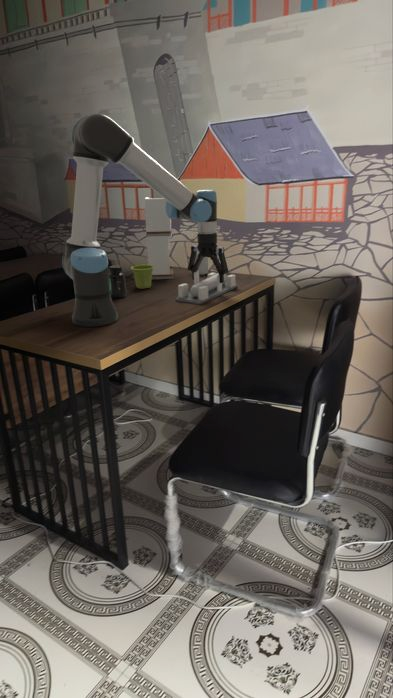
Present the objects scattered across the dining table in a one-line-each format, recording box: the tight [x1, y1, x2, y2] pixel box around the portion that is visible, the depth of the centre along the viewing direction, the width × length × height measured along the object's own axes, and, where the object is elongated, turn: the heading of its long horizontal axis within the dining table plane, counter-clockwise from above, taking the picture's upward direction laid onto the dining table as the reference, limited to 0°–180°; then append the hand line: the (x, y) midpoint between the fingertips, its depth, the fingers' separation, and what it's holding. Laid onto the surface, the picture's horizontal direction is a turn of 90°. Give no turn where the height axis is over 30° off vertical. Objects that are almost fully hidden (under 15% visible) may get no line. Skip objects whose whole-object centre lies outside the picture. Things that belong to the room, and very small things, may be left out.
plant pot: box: [130, 264, 154, 290], centre depth 209 cm, size 9×9×9 cm
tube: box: [189, 272, 228, 298], centre depth 197 cm, size 5×5×25 cm
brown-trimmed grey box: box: [144, 196, 174, 280], centre depth 223 cm, size 11×11×35 cm
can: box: [194, 250, 209, 276], centre depth 230 cm, size 8×8×12 cm
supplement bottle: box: [108, 264, 127, 299], centre depth 195 cm, size 7×7×12 cm
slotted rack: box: [175, 272, 239, 305], centre depth 197 cm, size 11×30×6 cm, turn 148°
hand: (208, 289), depth 197 cm, fingers open, 10 cm apart
